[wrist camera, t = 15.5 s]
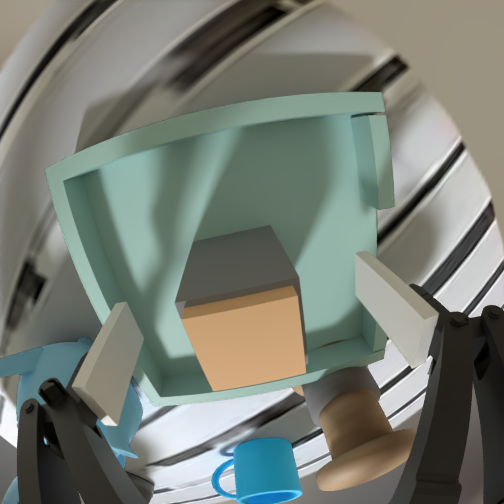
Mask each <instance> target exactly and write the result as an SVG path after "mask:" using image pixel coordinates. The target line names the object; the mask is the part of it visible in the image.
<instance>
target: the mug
mask: <svg viewBox="0 0 504 504" xmlns="http://www.w3.org/2000/svg"><path fill="white" fill-rule="evenodd" d="M233 456H234V459H230V460H228V461H227V462H225V463H223V464H221V465H220V466H219V467H218V468H217V469H216V470H215V472H214V473H213V475H212V485H213V488H214V489H215V490H216V492H217V493H218V494H220V495H222V496H224V497H226V498H230V499H234V500H237V502H238V503H240V504H277V503H282V502H286V501H290V500H293V499H295V498H297V497H299V496H301V495H302V489H301V484H300V480H299V476H298V471H297V467H296V463H295V458H294V454H293V449H292V445H291V443H290V442H289V441H287V440H285V439H281V438H261V439H255V440H250V441H247V442H244V443H242V444H240V445H238V446H237V447H236V448H235V449H234V451H233ZM233 464H234V470H235V482H236V494H237V495H234V494H229V493H227V492H225V491H223V489H222V488H221V487H220V485H219V477H220V475H221V474H222V472H223V471H224V470H225V469H226V468H228V467H229V466H231V465H233Z"/></svg>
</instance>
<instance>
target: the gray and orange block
mask: <svg viewBox="0 0 504 504" xmlns="http://www.w3.org/2000/svg"><path fill="white" fill-rule="evenodd" d="M175 306H176V308H177V311H178V313H179V316H180V318H181V321H182V323H183V326H184V328H185V331H186V333H187V335H188V338H189V340H190V342H191V345H192V347H193V349H194V352H195V354H196V356H197V358H198V361H199V363H200V365H201V367H202V369H203V371H204V374H205V376H206V378H207V380H208V382H209V384H210V386H211V388H212V390H213V391H220V390H226V389H233V388H239V387H245V386H250V385H256V384H261V383H266V382H270V381H275V380H280V379H284V378H288V377H293V376H297V375H301V374H305V373H306V365H307V364H309V363H308V352H307V341H306V331H305V322H304V313H303V304H302V295H301V287H300V279H299V276H298V274H297V272H296V270H295V268H294V266H293V265H292V263H291V261H290V259H289V257H288V256H287V254H286V252H285V250H284V248H283V247H282V245H281V243H280V241H279V240H278V238H277V236H276V234H275V232H274V231H273V229H272V227H271V225H268V226H263V227H258V228H254V229H249V230H244V231H240V232H235V233H230V234H226V235H221V236H217V237H212V238H208V239H203V240H199V241H195V242H193V243H192V246H191V249H190V252H189V256H188V259H187V262H186V265H185V269H184V272H183V275H182V279H181V282H180V285H179V289H178V292H177V296H176V299H175Z"/></svg>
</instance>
